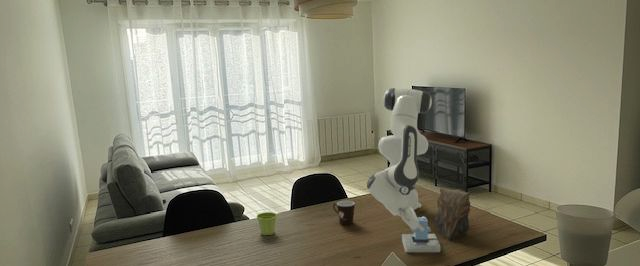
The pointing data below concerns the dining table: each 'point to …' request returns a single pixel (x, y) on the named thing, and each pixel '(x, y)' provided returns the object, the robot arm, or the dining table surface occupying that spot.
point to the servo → (422, 234)
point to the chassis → (420, 243)
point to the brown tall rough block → (452, 213)
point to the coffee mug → (345, 212)
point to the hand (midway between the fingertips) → (422, 227)
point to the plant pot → (267, 222)
